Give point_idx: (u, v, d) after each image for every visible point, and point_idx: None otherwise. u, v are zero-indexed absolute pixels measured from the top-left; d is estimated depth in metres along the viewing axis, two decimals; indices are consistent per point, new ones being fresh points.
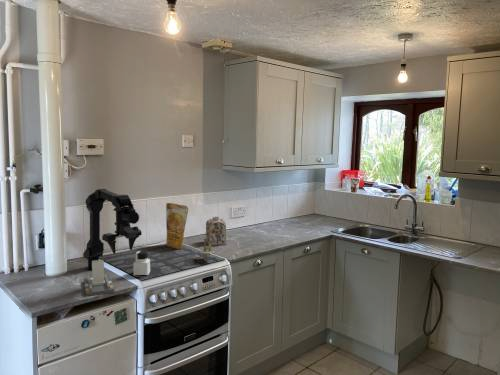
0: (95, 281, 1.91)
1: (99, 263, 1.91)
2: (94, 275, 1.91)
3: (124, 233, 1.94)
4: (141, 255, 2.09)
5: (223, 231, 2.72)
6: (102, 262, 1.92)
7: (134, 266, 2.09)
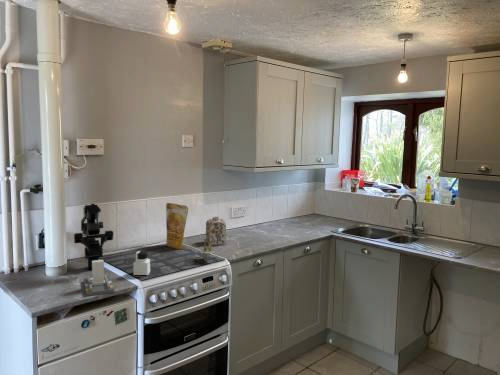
0: (95, 281, 1.91)
1: (99, 263, 1.91)
2: (94, 275, 1.91)
3: (89, 227, 2.06)
4: (141, 255, 2.09)
5: (223, 231, 2.72)
6: (102, 262, 1.92)
7: (134, 266, 2.09)
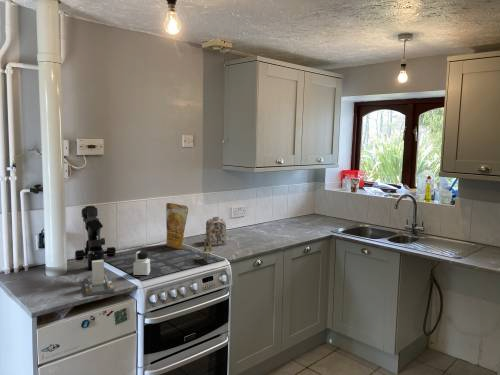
0: (95, 281, 1.91)
1: (99, 263, 1.91)
2: (94, 275, 1.91)
3: (90, 244, 1.99)
4: (141, 255, 2.09)
5: (223, 231, 2.72)
6: (102, 262, 1.92)
7: (134, 266, 2.09)
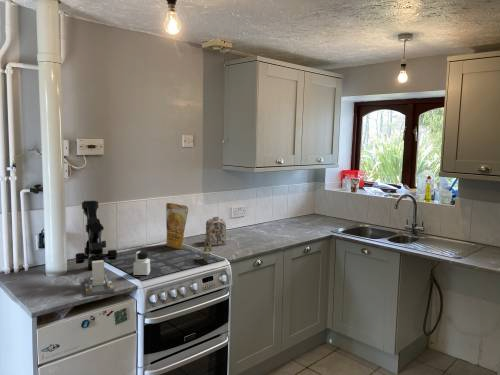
0: (95, 281, 1.91)
1: (99, 263, 1.91)
2: (94, 275, 1.90)
3: (91, 247, 1.95)
4: (141, 255, 2.09)
5: (223, 231, 2.72)
6: (102, 262, 1.91)
7: (134, 266, 2.09)
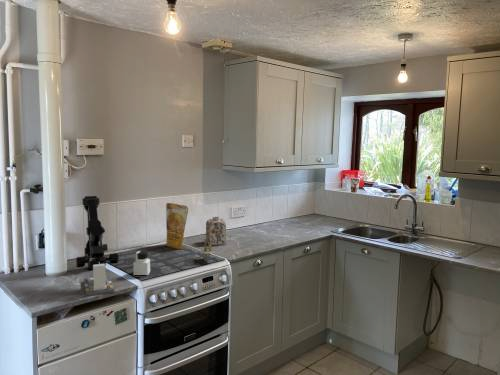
0: (96, 286, 1.85)
1: (100, 267, 1.85)
2: (95, 280, 1.85)
3: (92, 250, 1.89)
4: (141, 255, 2.09)
5: (223, 231, 2.72)
6: (103, 266, 1.86)
7: (134, 266, 2.09)
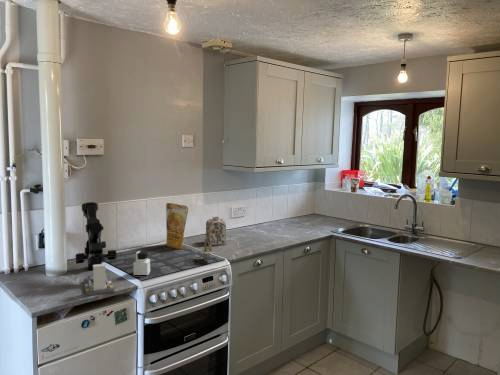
0: (96, 286, 1.85)
1: (100, 267, 1.85)
2: (95, 280, 1.85)
3: (91, 247, 1.97)
4: (141, 255, 2.09)
5: (223, 231, 2.72)
6: (103, 266, 1.86)
7: (134, 266, 2.09)
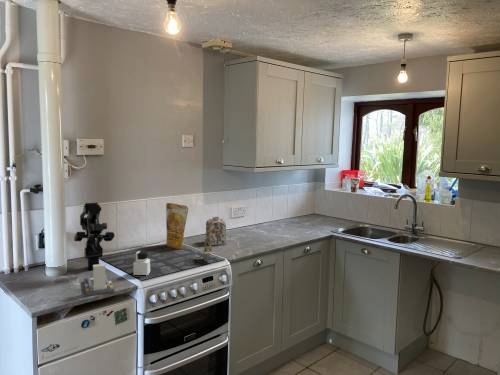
0: (96, 286, 1.85)
1: (100, 267, 1.85)
2: (95, 280, 1.85)
3: (92, 227, 2.05)
4: (141, 255, 2.09)
5: (223, 231, 2.72)
6: (103, 266, 1.86)
7: (134, 266, 2.09)
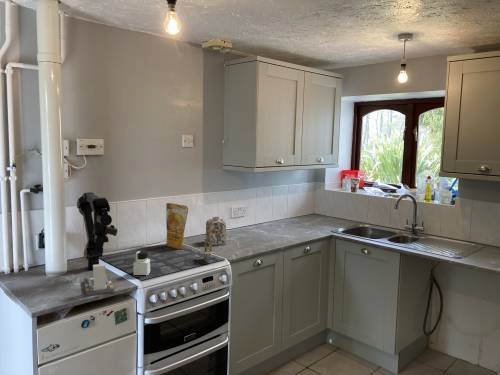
0: (96, 286, 1.85)
1: (100, 267, 1.85)
2: (95, 280, 1.85)
3: (112, 232, 2.08)
4: (141, 255, 2.09)
5: (223, 231, 2.72)
6: (103, 266, 1.86)
7: (134, 266, 2.09)
